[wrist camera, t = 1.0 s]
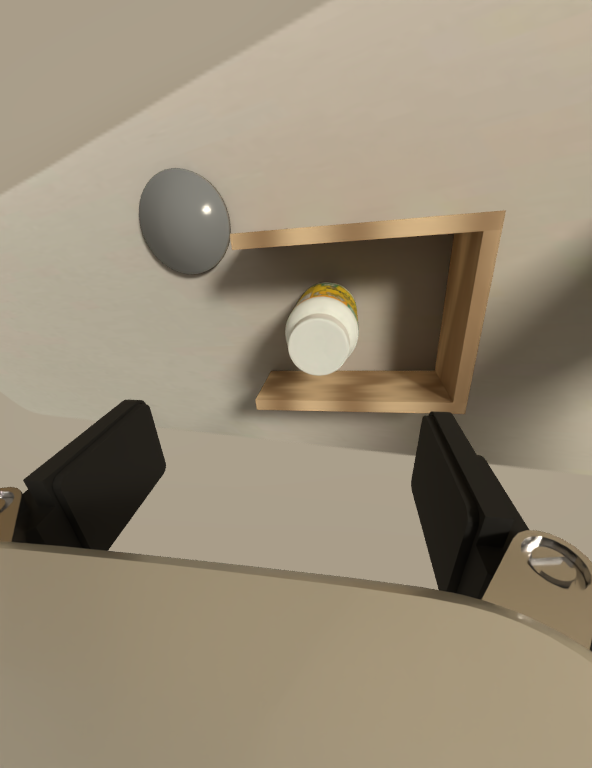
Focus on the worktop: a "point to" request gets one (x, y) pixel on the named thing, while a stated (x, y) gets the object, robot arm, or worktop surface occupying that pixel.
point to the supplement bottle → (322, 329)
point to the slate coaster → (184, 221)
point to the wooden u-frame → (457, 334)
